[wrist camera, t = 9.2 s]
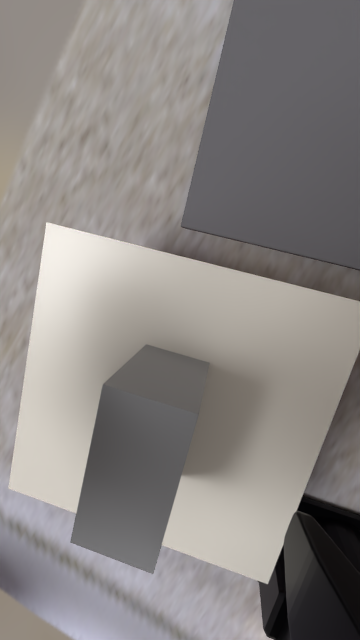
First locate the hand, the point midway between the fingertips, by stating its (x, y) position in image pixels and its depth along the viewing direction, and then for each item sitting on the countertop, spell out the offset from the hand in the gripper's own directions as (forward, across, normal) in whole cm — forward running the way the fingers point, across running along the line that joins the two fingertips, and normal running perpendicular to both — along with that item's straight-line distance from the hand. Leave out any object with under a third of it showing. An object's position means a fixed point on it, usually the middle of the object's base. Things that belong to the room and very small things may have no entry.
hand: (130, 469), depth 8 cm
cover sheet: (+5, 0, 0) cm, 5 cm away
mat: (+10, -5, -14) cm, 18 cm away
